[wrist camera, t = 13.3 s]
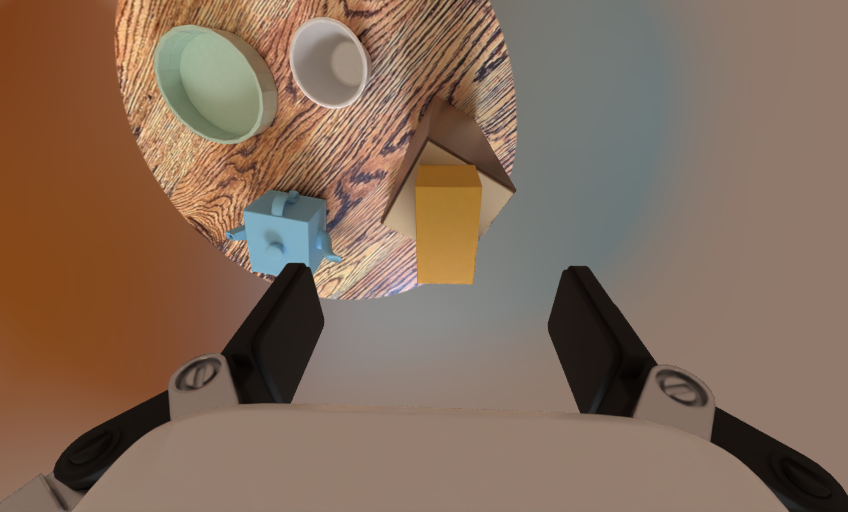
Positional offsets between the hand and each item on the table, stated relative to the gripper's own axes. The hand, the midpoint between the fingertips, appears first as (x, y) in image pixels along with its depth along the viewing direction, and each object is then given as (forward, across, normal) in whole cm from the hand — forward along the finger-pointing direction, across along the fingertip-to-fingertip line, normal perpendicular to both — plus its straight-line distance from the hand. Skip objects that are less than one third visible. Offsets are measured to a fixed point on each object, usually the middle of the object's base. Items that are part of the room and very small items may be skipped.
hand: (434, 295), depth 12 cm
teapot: (+39, +23, +17) cm, 48 cm away
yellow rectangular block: (+11, -1, +2) cm, 11 cm away
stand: (+39, -1, +2) cm, 39 cm away
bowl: (+39, +30, -4) cm, 49 cm away
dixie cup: (+39, +12, -7) cm, 42 cm away
